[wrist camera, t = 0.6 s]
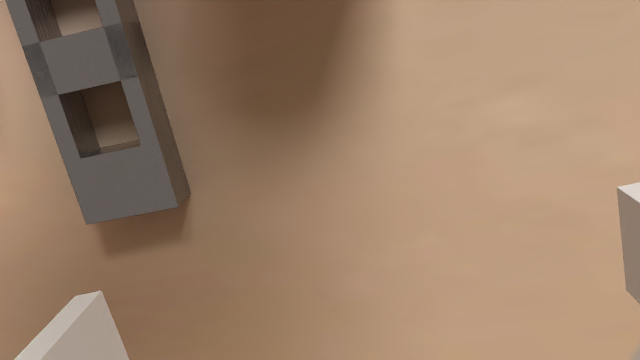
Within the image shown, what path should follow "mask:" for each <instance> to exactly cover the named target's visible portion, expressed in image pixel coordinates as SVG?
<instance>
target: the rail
mask: <svg viewBox="0 0 640 360" xmlns="http://www.w3.org/2000/svg"><path fill="white" fill-rule="evenodd" d="M5 1H6V3H7V6H8V9H9V12H10V14H11V17H12V20H13V23H14V26H15V28H16V31H17V34H18V37H19V39H20V42H21V45H22V48H23V50H24V53H25V56H26V59H27V62H28V64H29V67H30V70H31V73H32V75H33V78H34V81H35V84H36V86H37V89H38V92H39V95H40V98H41V100H42V103H43V106H44V109H45V111H46V114H47V117H48V120H49V122H50V125H51V128H52V131H53V134H54V136H55V139H56V142H57V145H58V147H59V150H60V153H61V156H62V158H63V161H64V164H65V167H66V170H67V172H68V175H69V178H70V181H71V183H72V186H73V189H74V192H75V195H76V197H77V200H78V203H79V206H80V208H81V211H82V214H83V217H84V219H85V222H86V225H88V224H93V223H98V222H103V221H108V220H114V219H119V218H124V217H129V216H134V215H140V214H145V213H150V212H155V211H160V210H165V209H171V208H176V207H179V206H180V205H181V204H182V203H183V201H184V200H185V199H186V198H187V197H188V196H189V195H190V194H191V193H190V190H189V186H188V183H187V180H186V176H185V173H184V170H183V166H182V163H181V160H180V156H179V153H178V150H177V146H176V143H175V140H174V136H173V133H172V129H171V126H170V123H169V119H168V116H167V113H166V109H165V106H164V103H163V99H162V96H161V93H160V89H159V86H158V83H157V79H156V76H155V73H154V69H153V66H152V63H151V59H150V56H149V53H148V49H147V46H146V43H145V39H144V36H143V33H142V29H141V26H140V22H139V19H138V16H137V12H136V9H135V6H134V2H133V0H95V2H96V5H97V8H98V11H99V14H100V18H101V21H102V24H103V27H101V28H97V29H93V30H88V31H84V32H80V33H76V34H72V35H68V36H63V37H62V36H61V33H60V30H59V27H58V24H57V21H56V18H55V15H54V12H53V9H52V6H51V3H50V0H5ZM117 81H121V84H122V87H123V90H124V93H125V96H126V99H127V103H128V106H129V109H130V112H131V115H132V118H133V121H134V125H135V128H136V131H137V134H138V137H139V140H138V141H133V142H128V143H123V144H118V145H114V146H109V147H104V148H99V145H98V142H97V139H96V136H95V133H94V130H93V127H92V124H91V121H90V118H89V115H88V112H87V109H86V106H85V103H84V100H83V98H82V95H81V92H80V90H82V89H86V88H91V87H95V86H100V85H104V84H108V83H113V82H117Z"/></svg>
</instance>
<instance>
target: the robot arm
mask: <svg viewBox="0 0 640 360" xmlns="http://www.w3.org/2000/svg"><path fill="white" fill-rule="evenodd" d="M617 194H618V205H619V216H620V227H621V238H622V249H623V260H624V271H625V281H626V290H627V291H628V292H629V293H630V294H631V295H632V296H633V297H634V299H635V300H636V301H637V302H638V303H639V304H640V183H635V184H630V185H625V186H620V187H617ZM14 360H129V357H128V355H127V352H126V350H125V348H124V345H123V343H122V340H121V338H120V335H119V333H118V330H117V328H116V325H115V323H114V320H113V318H112V315H111V313H110V310H109V308H108V305H107V303H106V300H105V298H104V296H103V293H102V291H97V292H92V293H87V294H82V295H77V296H74V298H73V299H72V300H71V301H70V302H69V303H68V304H67V305H66V306H65V307H64V308H63V309H62V310H61V311H60V312H59V313H58V314H57V315H56V316H55V317H54V318H53V319H52V320H51V321H50V323H49V324H48V325H47V326H46V327H45V328H44V329H43V330H42V331H41V332H40V333H39V334H38V335H37V336H36V337H35V338H34V339H33V340H32V341H31V342H30V343H29V344H28V345H27V346H26V348H25V349H24V350H23V351H22V352H21V353H20V354H19V355H18V356H17V357H16V358H15V359H14Z"/></svg>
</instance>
